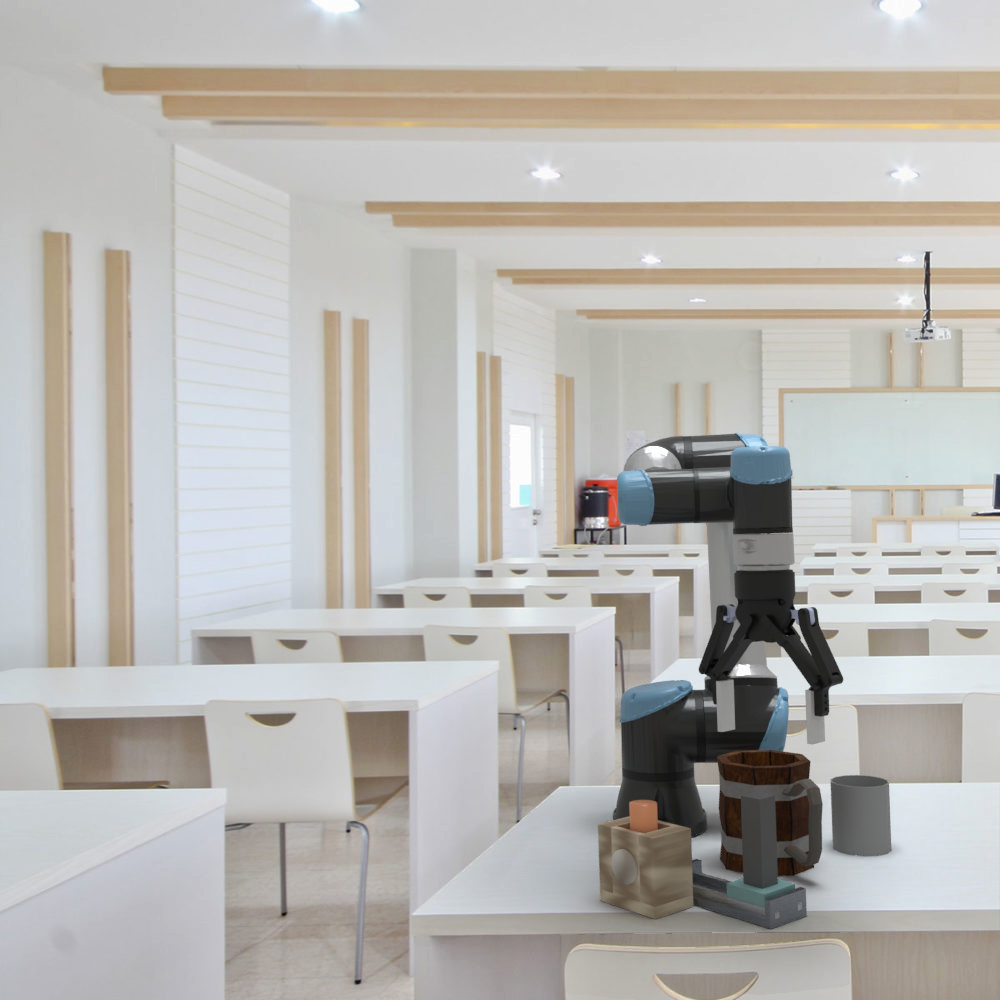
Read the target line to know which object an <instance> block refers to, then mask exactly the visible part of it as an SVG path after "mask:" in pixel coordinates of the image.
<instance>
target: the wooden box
mask: <svg viewBox="0 0 1000 1000" xmlns="http://www.w3.org/2000/svg"><path fill="white" fill-rule="evenodd" d="M597 835H598V836H597V838H598V841H597V843H598V871H599V873H598V874H599V901H600V902H603V903H606V904H609V905H611V906H612V905H613V906H616V907H619V908H621V909H624V910H626V911H629V912H630V911H631V912H633V913H635V914H640V915H642V916H644V917H648V918H650V919H654V920H657V919H659V918H663V917H667V916H669V915H672V914H675V913H678V912H681V911H684V910H687V909H691V908H694V905H693V876H692V860H693V855H692V853H693V852H692V851H693V850H692V849H693V848H692V837H691V828H687V827H683V826H679V825H675V824H671V823H667V822H663V821H659V820H658V830H655V831H651V832H647V833H641V832H637V831H633V830H630V816H629V817H625V818H621V819H616V820H613V819H612V820H609V821H605V822H601V823H598V824H597Z"/></svg>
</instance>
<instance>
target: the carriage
mask: <svg viewBox="0 0 1000 1000" xmlns="http://www.w3.org/2000/svg"><path fill="white" fill-rule="evenodd" d="M741 820H742V850H743V873H742V874H743V878H740V879H739V878H738V879H736V880H733V881H732V882H729V883H726V884H727V896H728V897H731V898H735V899H738V900H741V901H745V902H748V903H751V904H755V905H758V906H761V907H765V899H767V898H770V897H773V896H776V895H779V894H782V893H784V892H787V891H790V890H793V889H796V888H797V887H796V883H793V882H789V881H787V880H782V879H779V878H778V877H779V876H778V868H777V838H776V809H775V795H770V794H765V793H760V792H753V793H749V794H745V795H741Z"/></svg>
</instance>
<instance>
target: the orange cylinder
mask: <svg viewBox="0 0 1000 1000" xmlns="http://www.w3.org/2000/svg"><path fill="white" fill-rule="evenodd" d="M629 810H630V830H633V831H637V832H641V833H647V832H651V831H655V830H658V815H657V802H655V801H652V800H635V801H631V802H630V803H629Z"/></svg>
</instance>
